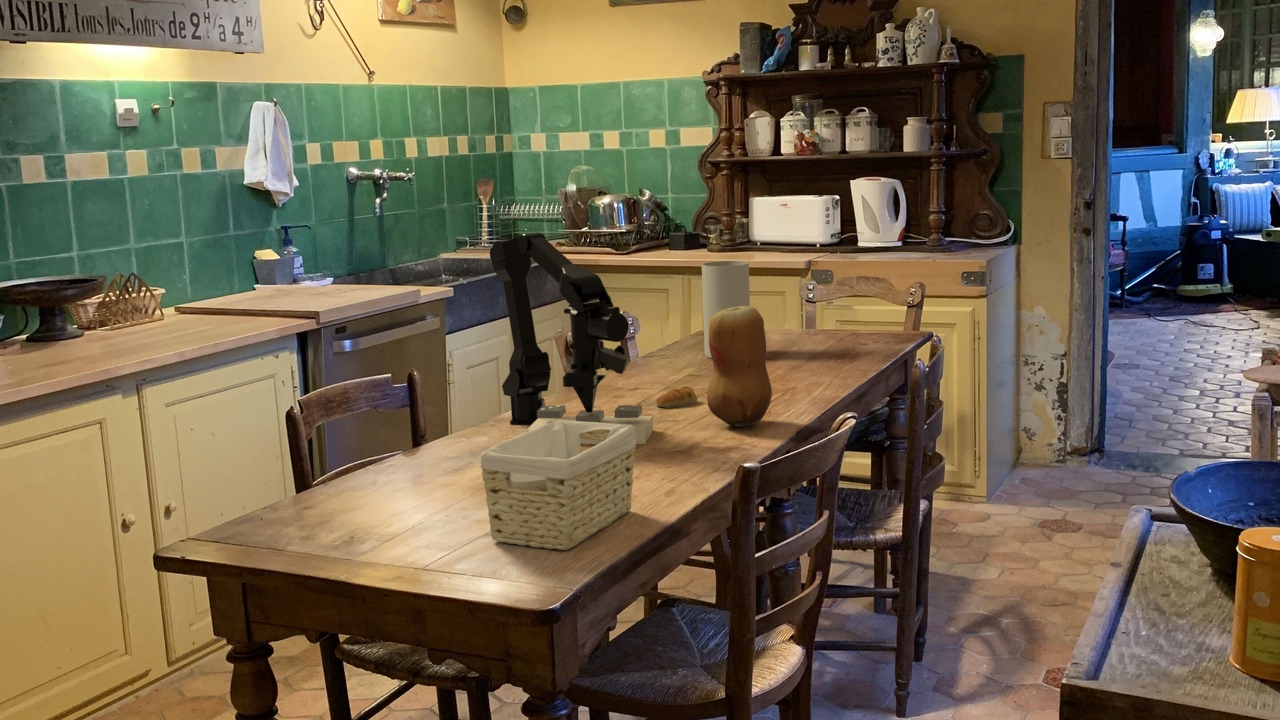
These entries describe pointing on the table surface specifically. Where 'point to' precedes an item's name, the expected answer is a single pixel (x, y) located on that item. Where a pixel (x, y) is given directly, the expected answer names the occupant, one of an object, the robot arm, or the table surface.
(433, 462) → the table surface
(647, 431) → the panel
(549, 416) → the button three pips
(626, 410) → the button two pips
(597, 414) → the button one pip
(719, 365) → the butternut squash
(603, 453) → the storage basket
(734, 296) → the cylinder vase
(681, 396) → the pastry
